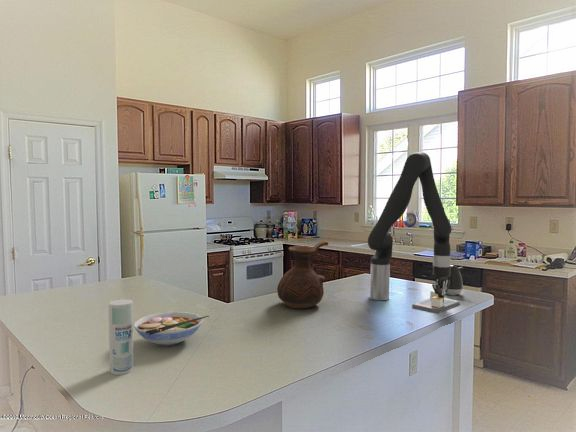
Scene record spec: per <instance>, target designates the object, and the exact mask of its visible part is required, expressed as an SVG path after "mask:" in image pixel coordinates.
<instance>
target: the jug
mask: <svg viewBox="0 0 576 432" xmlns="http://www.w3.org/2000/svg"><path fill="white" fill-rule="evenodd" d="M323 246H324V247H325V246H329V241H328V240H326V239H323V240H320V241H318V243H317V244H316V245H313V246H308V245H294V246H289V247H288V251H289V252H291V253H293V256H294V264H293V266H292V267H291V268H290V269H289V270H288V271H286V272H285V273H284V274H283V276H282V277H281V279H280V280H279V282H278V284H277V288H276V289H277V291H276V292H277V296H278V299H280V301H281V302H283V303H284V304H285V306H287V307H289V308H291V309H298V310H299V309H309V308H312V307H314V306H316V305H318V304H319V303H320V302H322V299H323V297H324V293H325V292H324V291H325V290H324V280H325V275H321V274H317V273H316V271H315V270H313V269H312V266H311V262H310V260H311V256H313V255H314V254H316V253H317V252H318V251H319V249H320V248H321V247H323Z"/></svg>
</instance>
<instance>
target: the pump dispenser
mask: <svg viewBox="0 0 576 432" xmlns="http://www.w3.org/2000/svg"><path fill="white" fill-rule="evenodd" d="M463 269H464V267H463V266H460V267H458V266H456V264H451V272H450V276H448V281H450V284H449V287H448V290H447V293H445V295H446V294H447V295H449V296H458V295H460V294H461V293H462V290H463V289H464V285H463V283H464V282H463V276H462V273H461V270H463Z"/></svg>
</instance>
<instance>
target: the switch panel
mask: <svg viewBox="0 0 576 432" xmlns="http://www.w3.org/2000/svg"><path fill="white" fill-rule="evenodd" d="M460 303H461V301H460V300H455V299H453V298H452V299H450V298H447V297H444V303H443V307H440V308H439V307H434V306H431V298H430V297H429V298H427V299H423V300H421V301H417V302H414V303H412V304H411V307H413V308H412V309H417V310H421V309H422V311H425V310H426V312H431V313H435V314H438V313H440V312H441V313H442V312H443V311H446V310H448V309H452V308H454V307H456V306H458V305H461V304H460Z"/></svg>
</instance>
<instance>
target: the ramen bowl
mask: <svg viewBox="0 0 576 432" xmlns="http://www.w3.org/2000/svg"><path fill="white" fill-rule="evenodd" d="M209 317H210V315H205V316H200V315H198V314H197V313H193V312H186V311H167V312H160V313H158V312H157V313H152V314H149V315H146V316H143V317H140V318H138V319H137V320H135V321H134V322H133V328H135V330H136V332H137V333H138V334H139V335H140V336H141V337H142V338H143V339H144V340H145V341H147V342H148V343H152V344H156V345H159V346H167V347H168V346H169V347H170V346H174V345H177V344H179V343H181V342H184V341H186V340H188V339H189V338H191V337H192V336H194V335H195V333H196V332H197V331H198V330H199V328H200V326H201V325H202V324H203V319H205V318H209Z"/></svg>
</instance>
